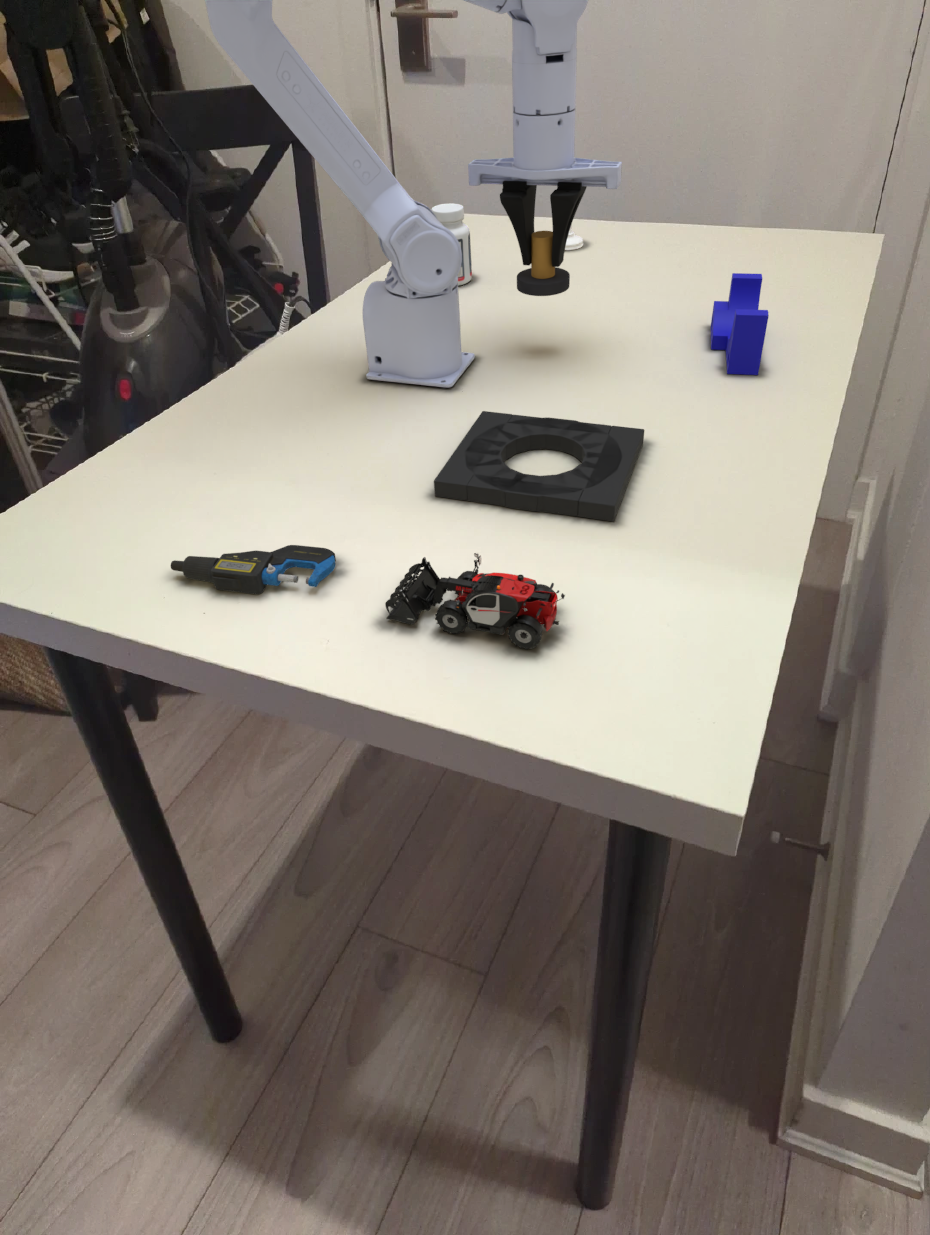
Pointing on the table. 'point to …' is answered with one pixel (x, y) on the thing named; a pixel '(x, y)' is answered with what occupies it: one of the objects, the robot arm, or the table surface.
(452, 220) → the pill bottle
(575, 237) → the chess piece
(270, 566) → the micrometer
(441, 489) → the socket pad
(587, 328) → the table surface
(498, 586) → the loader
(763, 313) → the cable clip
